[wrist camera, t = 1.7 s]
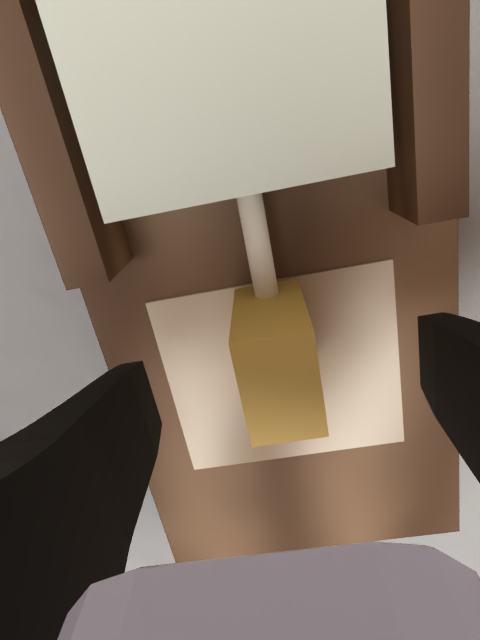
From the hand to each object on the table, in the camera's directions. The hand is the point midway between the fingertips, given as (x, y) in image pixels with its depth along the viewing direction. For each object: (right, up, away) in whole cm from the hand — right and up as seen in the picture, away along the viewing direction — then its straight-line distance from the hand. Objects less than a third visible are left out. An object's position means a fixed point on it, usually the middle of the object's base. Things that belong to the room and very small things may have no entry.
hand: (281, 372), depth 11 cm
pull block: (-1, +5, +1) cm, 5 cm away
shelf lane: (0, +1, +5) cm, 5 cm away
